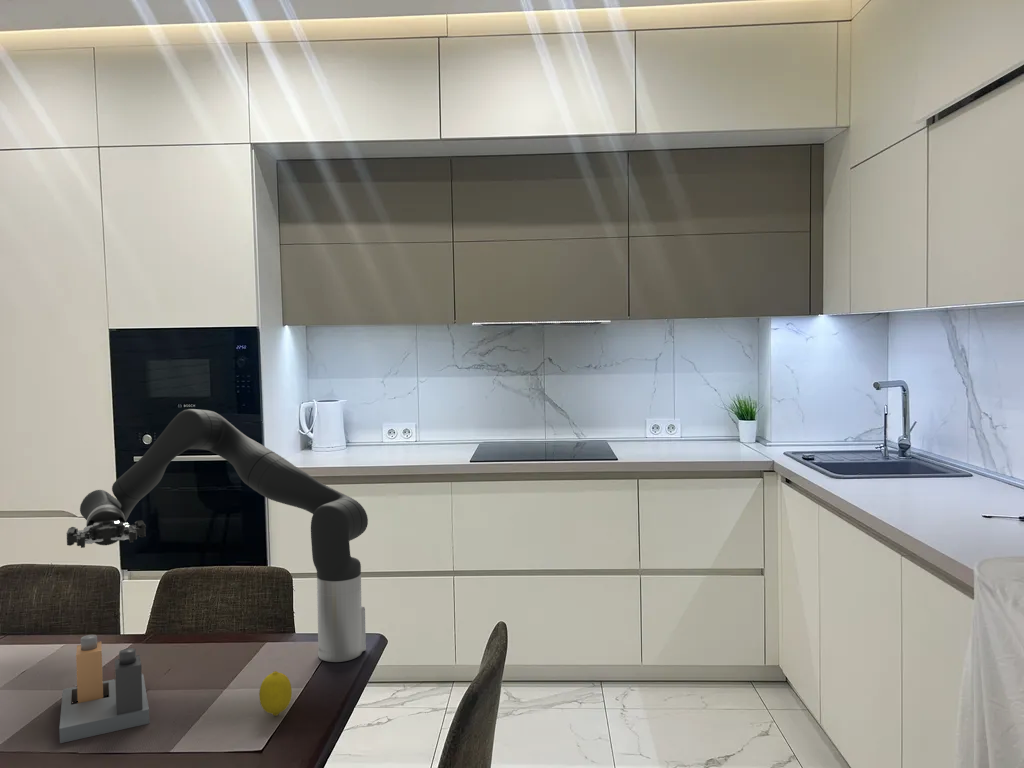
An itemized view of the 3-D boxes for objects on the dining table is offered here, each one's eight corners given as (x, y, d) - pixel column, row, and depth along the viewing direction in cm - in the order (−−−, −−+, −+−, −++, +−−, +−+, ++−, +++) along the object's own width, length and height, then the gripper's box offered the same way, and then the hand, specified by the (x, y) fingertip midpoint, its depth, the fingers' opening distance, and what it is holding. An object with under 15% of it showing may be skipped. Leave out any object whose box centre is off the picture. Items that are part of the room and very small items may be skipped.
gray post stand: (143, 686, 146) (141, 623, 146) (149, 723, 132) (147, 653, 131) (63, 702, 140) (61, 636, 139) (59, 743, 125) (57, 669, 124)
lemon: (295, 707, 137) (294, 664, 137) (287, 722, 131) (286, 677, 131) (265, 708, 137) (264, 665, 136) (255, 723, 131) (254, 678, 131)
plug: (103, 698, 141) (101, 630, 141) (103, 709, 137) (101, 639, 136) (78, 703, 139) (76, 634, 139) (78, 714, 135) (75, 644, 134)
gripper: (67, 510, 160) (65, 525, 146) (142, 503, 167) (146, 517, 152) (68, 545, 160) (66, 563, 146) (142, 536, 167) (147, 553, 153)
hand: (107, 539), depth 149 cm, fingers open, 8 cm apart
